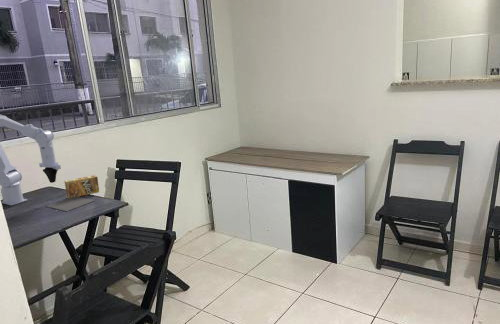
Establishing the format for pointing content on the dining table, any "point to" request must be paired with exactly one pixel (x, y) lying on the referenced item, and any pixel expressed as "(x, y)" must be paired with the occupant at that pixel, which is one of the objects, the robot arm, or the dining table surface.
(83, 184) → the candy box
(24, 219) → the dining table surface
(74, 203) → the mat
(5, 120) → the robot arm
